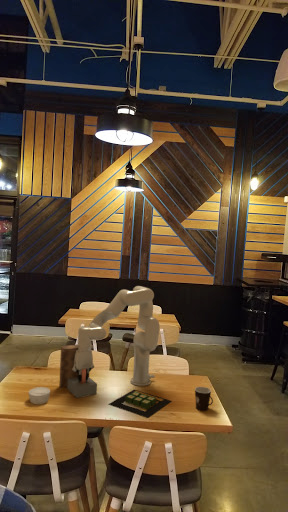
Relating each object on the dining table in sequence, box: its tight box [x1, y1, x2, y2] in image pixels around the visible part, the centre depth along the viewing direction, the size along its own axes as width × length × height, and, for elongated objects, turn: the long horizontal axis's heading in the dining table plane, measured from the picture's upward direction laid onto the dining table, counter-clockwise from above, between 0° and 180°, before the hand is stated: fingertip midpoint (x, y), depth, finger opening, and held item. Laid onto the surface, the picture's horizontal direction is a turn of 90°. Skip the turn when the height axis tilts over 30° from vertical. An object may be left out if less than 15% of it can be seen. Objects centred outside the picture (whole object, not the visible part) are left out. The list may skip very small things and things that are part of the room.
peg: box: [80, 369, 86, 384], centre depth 215 cm, size 3×3×12 cm
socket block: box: [66, 376, 98, 399], centre depth 216 cm, size 12×14×6 cm
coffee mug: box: [194, 386, 214, 412], centre depth 200 cm, size 12×9×10 cm
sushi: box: [107, 389, 172, 419], centre depth 205 cm, size 25×25×4 cm
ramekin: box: [28, 386, 51, 405], centre depth 201 cm, size 11×11×5 cm
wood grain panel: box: [58, 343, 94, 389], centre depth 223 cm, size 18×6×24 cm, turn 123°
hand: (82, 380), depth 215 cm, fingers closed on peg, 3 cm apart
